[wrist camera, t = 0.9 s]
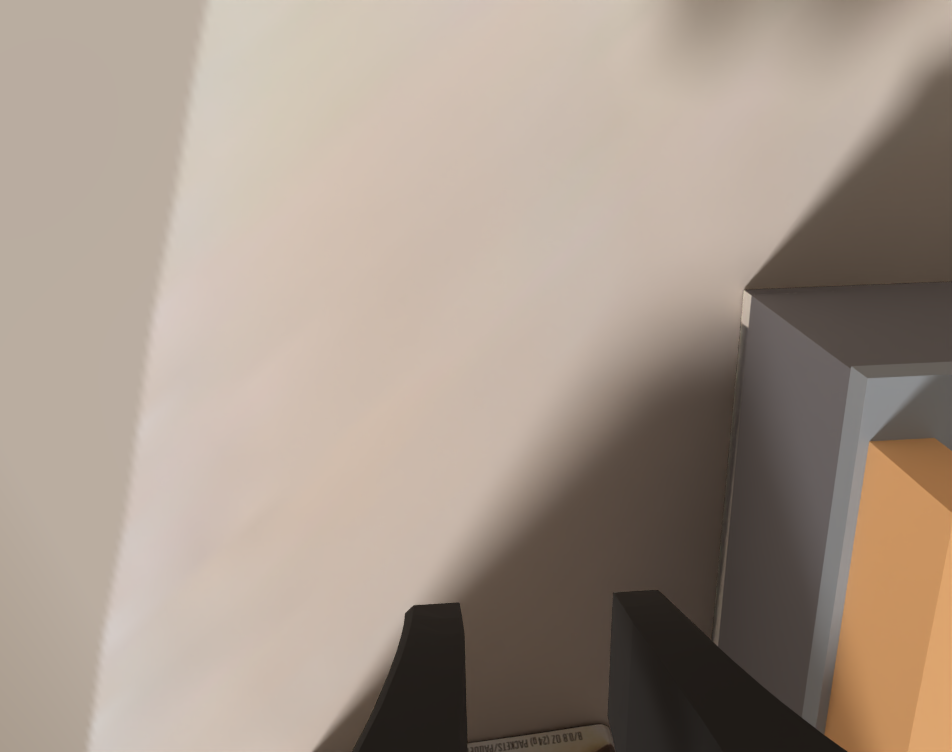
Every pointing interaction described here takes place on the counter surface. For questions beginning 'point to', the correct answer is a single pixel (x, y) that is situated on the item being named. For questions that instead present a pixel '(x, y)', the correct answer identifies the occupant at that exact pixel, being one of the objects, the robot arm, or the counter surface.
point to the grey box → (800, 455)
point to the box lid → (888, 568)
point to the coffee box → (552, 741)
